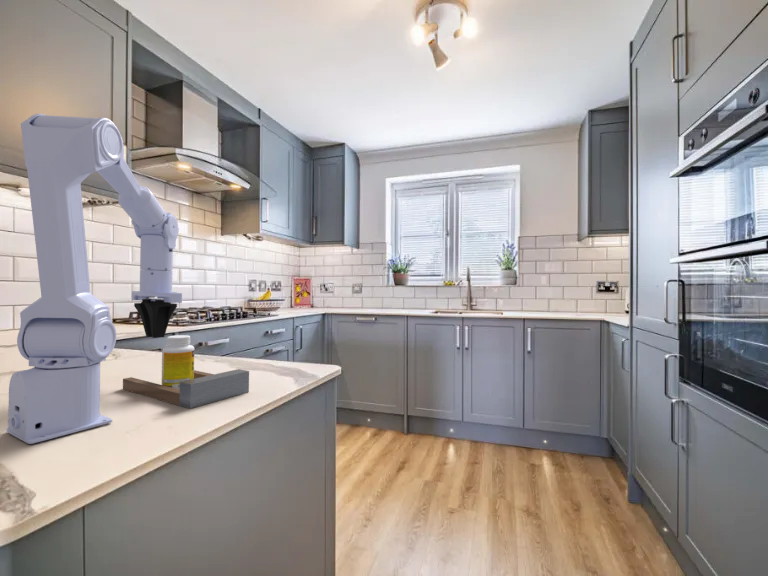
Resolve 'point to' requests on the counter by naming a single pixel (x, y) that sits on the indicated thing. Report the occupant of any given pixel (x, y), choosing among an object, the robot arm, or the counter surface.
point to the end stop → (213, 388)
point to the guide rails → (156, 388)
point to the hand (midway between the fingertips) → (155, 336)
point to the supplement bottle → (177, 361)
